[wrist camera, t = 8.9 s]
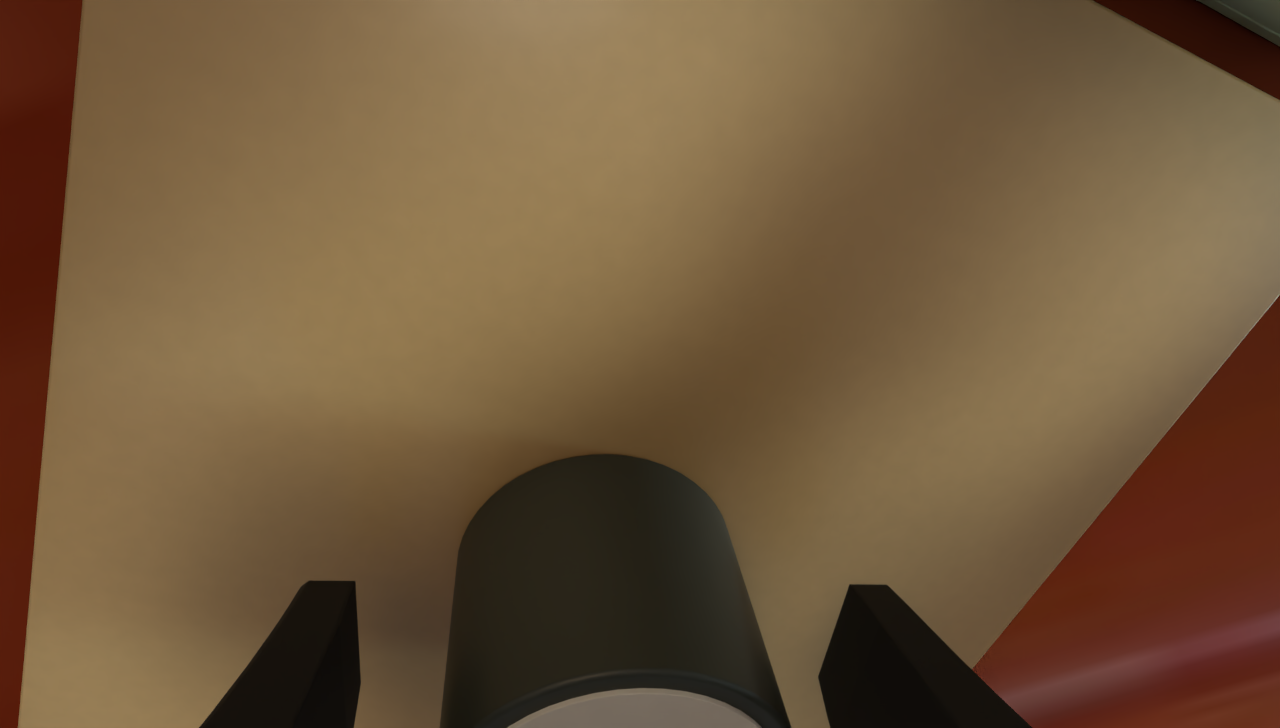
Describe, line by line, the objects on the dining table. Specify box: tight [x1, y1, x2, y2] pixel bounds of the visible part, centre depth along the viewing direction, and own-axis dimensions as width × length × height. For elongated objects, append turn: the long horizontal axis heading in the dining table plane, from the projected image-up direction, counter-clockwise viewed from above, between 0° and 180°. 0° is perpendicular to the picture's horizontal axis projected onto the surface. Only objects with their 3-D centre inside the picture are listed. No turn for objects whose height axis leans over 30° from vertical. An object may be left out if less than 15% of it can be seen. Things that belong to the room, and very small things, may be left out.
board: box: [18, 0, 1280, 728], centre depth 14 cm, size 16×20×1 cm
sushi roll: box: [440, 454, 791, 728], centre depth 11 cm, size 4×4×4 cm
